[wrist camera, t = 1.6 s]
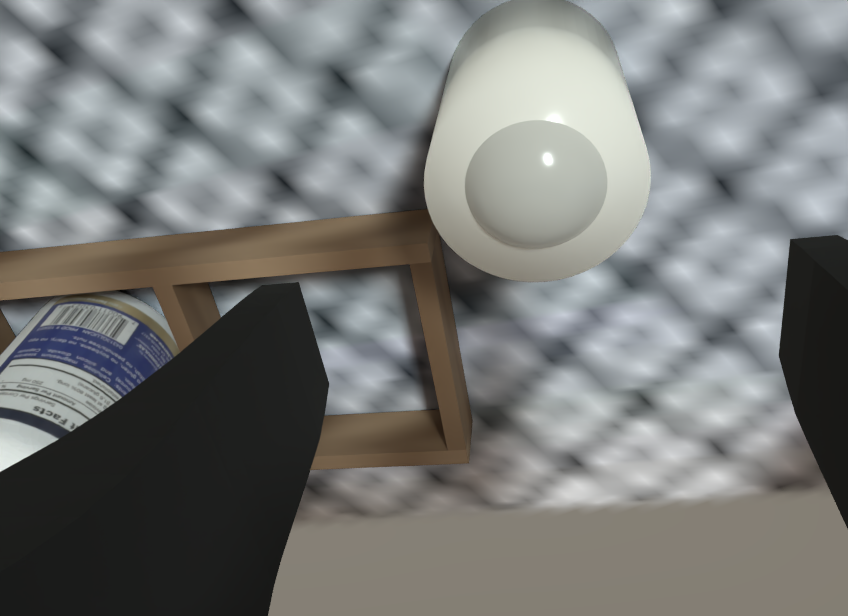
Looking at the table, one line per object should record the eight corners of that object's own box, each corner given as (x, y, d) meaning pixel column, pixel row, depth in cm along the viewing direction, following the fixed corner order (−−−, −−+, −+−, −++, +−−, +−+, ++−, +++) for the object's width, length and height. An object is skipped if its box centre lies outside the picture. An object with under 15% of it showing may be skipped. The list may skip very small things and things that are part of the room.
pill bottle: (121, 428, 29) (-31, 677, 21) (7, 325, 27) (-211, 562, 19) (226, 371, 27) (102, 625, 19) (112, 255, 25) (-84, 487, 17)
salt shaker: (617, -17, 19) (656, 76, 13) (623, 154, 21) (657, 294, 16) (436, 10, 20) (400, 108, 14) (461, 172, 22) (438, 310, 17)
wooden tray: (434, 208, 23) (427, 243, 21) (472, 421, 27) (468, 463, 26) (-47, 256, 26) (-86, 290, 24) (59, 442, 30) (32, 481, 28)
